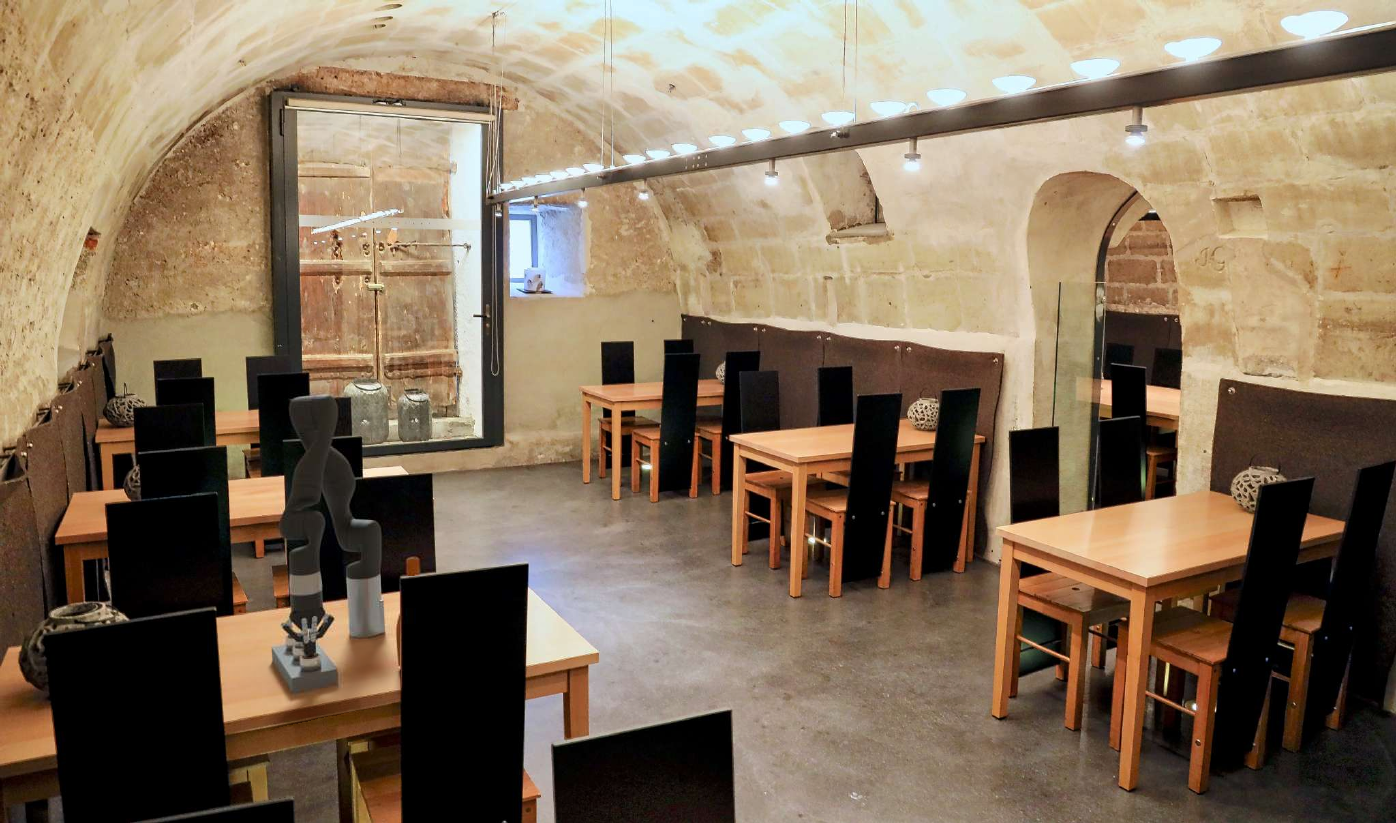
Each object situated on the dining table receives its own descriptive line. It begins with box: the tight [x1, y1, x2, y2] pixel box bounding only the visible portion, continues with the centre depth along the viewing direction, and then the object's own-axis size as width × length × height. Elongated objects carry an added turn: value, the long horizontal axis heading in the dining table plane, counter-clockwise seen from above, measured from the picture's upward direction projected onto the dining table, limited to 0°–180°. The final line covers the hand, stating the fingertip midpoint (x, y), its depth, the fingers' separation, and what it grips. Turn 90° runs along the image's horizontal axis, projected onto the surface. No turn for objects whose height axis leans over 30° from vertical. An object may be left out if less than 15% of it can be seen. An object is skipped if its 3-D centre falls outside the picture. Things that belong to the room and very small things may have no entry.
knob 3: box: [300, 653, 322, 671], centre depth 260 cm, size 5×5×3 cm
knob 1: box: [285, 632, 303, 650], centre depth 274 cm, size 5×5×3 cm
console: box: [271, 641, 339, 695], centre depth 267 cm, size 11×25×4 cm, turn 33°
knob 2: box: [293, 643, 304, 661], centre depth 267 cm, size 5×5×3 cm
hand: (309, 655), depth 259 cm, fingers closed
